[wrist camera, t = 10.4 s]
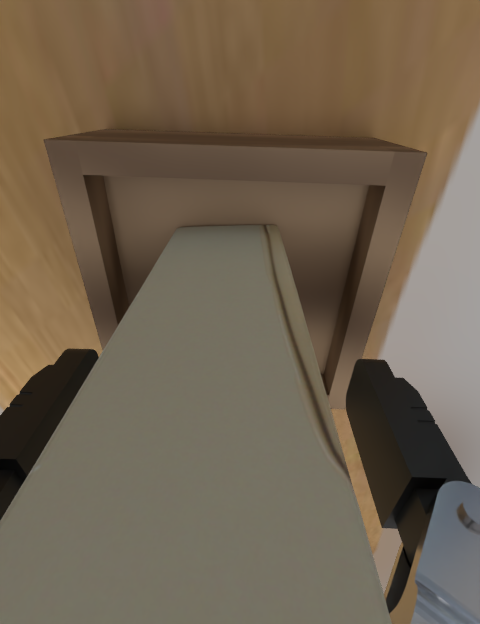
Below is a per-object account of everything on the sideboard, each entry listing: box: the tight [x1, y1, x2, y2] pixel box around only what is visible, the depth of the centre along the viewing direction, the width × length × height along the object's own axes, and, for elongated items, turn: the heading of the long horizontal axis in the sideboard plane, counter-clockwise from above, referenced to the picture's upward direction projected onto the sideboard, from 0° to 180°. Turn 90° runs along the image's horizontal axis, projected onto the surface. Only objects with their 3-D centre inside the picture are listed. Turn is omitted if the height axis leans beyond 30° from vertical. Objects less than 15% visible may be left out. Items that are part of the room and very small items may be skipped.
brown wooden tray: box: [44, 129, 427, 409], centre depth 15 cm, size 12×12×6 cm
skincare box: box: [0, 225, 392, 624], centre depth 9 cm, size 6×4×12 cm
